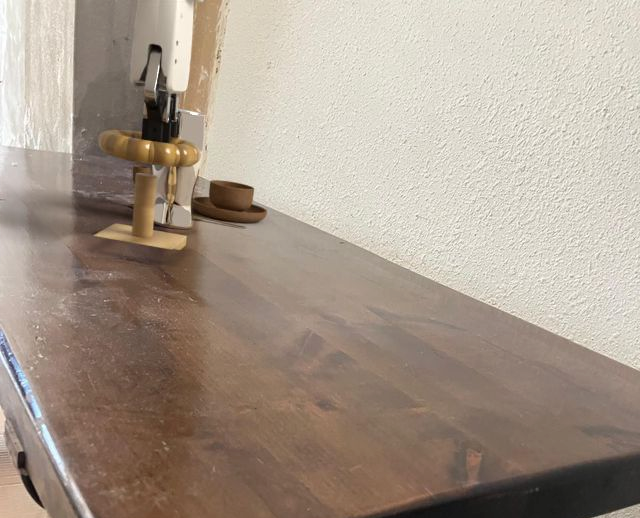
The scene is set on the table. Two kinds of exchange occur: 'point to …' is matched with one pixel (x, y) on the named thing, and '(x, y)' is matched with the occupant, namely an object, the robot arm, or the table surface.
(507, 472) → the table surface
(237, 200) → the place setting
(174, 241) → the post
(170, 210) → the beer glass
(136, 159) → the ring
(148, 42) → the robot arm
